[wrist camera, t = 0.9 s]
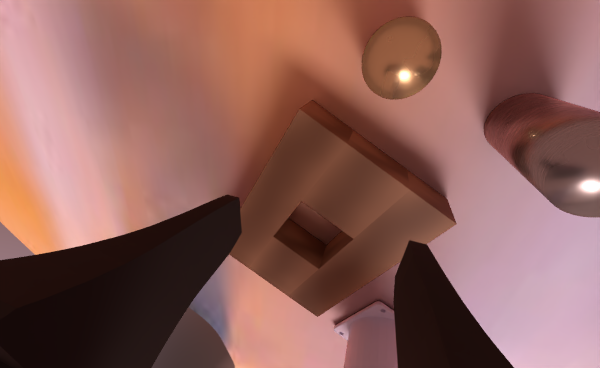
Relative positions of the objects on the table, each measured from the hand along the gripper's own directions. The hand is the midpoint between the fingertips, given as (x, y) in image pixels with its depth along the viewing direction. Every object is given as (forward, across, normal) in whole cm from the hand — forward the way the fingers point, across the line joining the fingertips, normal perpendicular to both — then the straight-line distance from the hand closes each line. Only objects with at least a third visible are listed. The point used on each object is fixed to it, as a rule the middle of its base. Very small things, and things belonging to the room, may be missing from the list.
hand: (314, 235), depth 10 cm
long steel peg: (+10, -9, -4) cm, 14 cm away
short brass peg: (+10, -2, -6) cm, 12 cm away
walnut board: (+10, +2, +6) cm, 12 cm away
